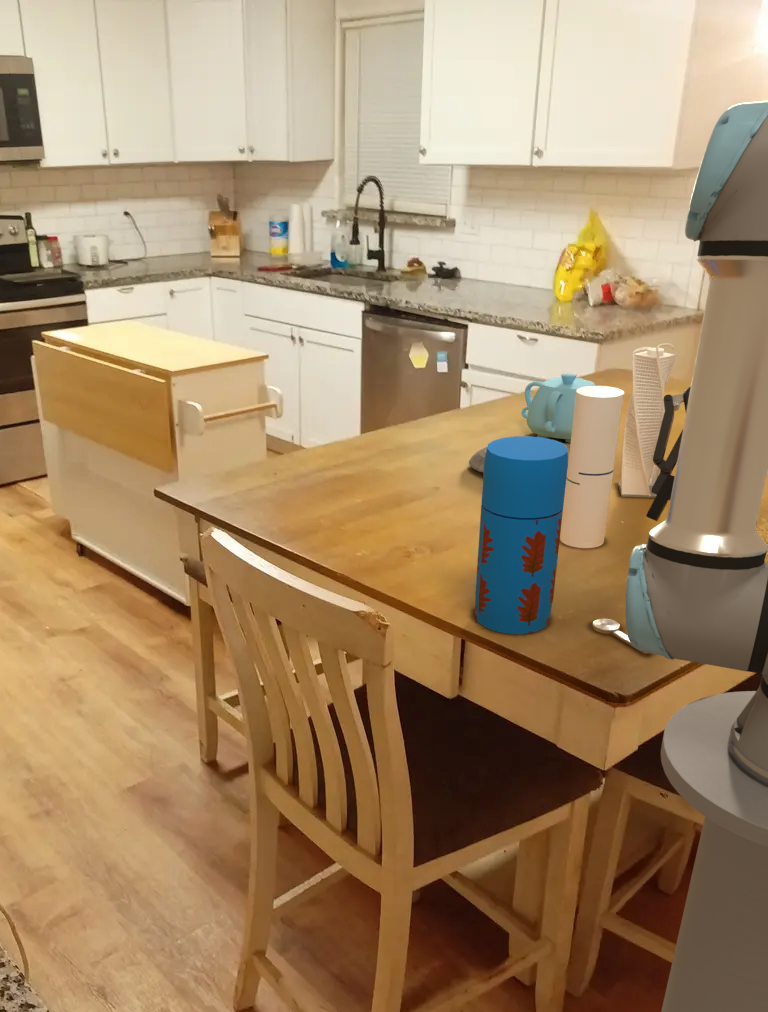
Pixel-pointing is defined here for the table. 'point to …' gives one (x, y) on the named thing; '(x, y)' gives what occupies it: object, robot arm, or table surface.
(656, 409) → the skyscraper
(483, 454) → the flying saucer
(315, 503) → the table surface
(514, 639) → the table surface
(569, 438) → the decorative pot
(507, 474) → the thermos
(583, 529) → the cylindrical container
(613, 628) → the metal disc paddle
